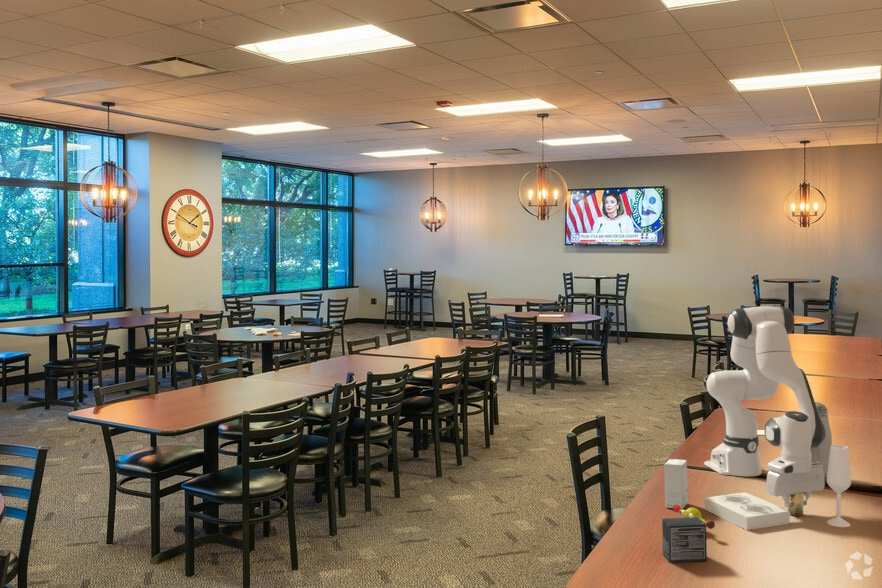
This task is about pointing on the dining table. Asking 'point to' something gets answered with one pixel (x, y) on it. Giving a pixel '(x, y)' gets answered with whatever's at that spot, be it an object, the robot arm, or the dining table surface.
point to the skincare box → (676, 483)
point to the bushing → (796, 504)
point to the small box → (684, 539)
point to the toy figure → (693, 515)
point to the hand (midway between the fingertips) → (795, 506)
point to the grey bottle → (823, 449)
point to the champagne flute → (838, 479)
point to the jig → (747, 511)
